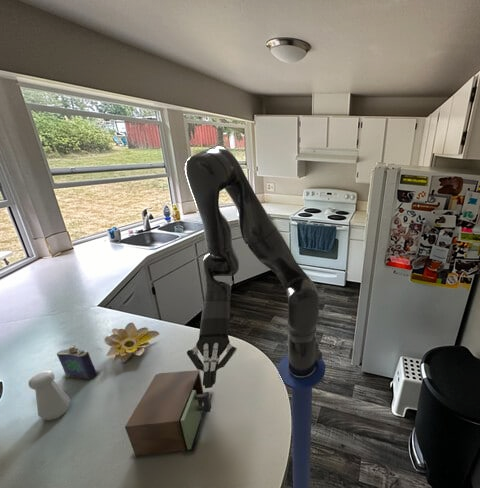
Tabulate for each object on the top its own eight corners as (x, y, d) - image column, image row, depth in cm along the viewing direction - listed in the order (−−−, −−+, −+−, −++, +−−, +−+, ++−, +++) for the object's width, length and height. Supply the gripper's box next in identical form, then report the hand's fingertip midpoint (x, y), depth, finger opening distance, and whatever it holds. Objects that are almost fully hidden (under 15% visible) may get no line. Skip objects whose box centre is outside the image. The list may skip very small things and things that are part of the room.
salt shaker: (45, 428, 63) (25, 390, 58) (38, 415, 65) (18, 379, 61) (75, 409, 67) (59, 373, 63) (68, 398, 70) (52, 363, 66)
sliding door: (213, 416, 66) (208, 388, 63) (204, 447, 59) (198, 418, 56) (198, 417, 66) (192, 390, 62) (187, 449, 59) (180, 420, 55)
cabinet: (211, 393, 73) (206, 368, 69) (193, 450, 59) (187, 421, 56) (163, 398, 71) (156, 372, 68) (134, 457, 57) (123, 428, 54)
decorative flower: (135, 367, 78) (121, 340, 76) (102, 372, 79) (88, 346, 77) (165, 336, 93) (155, 313, 90) (138, 341, 94) (127, 318, 91)
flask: (63, 376, 76) (51, 349, 73) (73, 369, 79) (62, 342, 75) (91, 379, 76) (81, 352, 72) (100, 371, 79) (91, 344, 75)
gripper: (186, 318, 67) (175, 392, 60) (237, 315, 69) (232, 386, 62) (195, 321, 74) (186, 388, 67) (241, 319, 76) (237, 383, 69)
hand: (208, 387), depth 65 cm, fingers closed
